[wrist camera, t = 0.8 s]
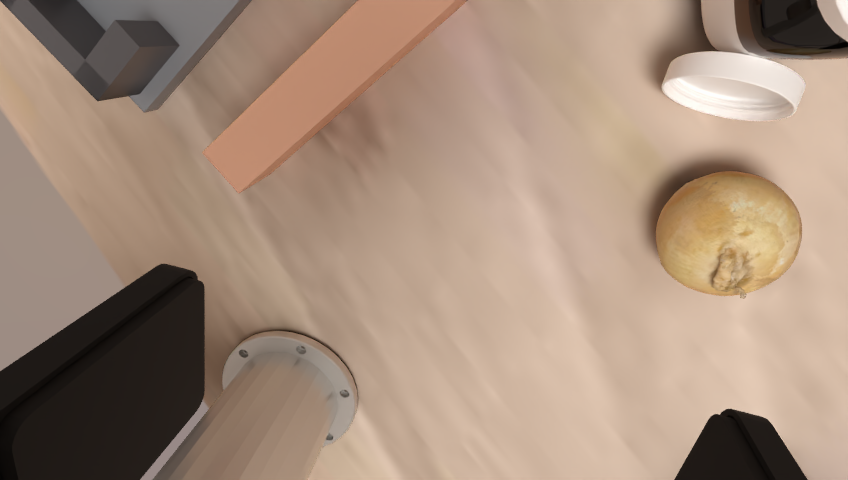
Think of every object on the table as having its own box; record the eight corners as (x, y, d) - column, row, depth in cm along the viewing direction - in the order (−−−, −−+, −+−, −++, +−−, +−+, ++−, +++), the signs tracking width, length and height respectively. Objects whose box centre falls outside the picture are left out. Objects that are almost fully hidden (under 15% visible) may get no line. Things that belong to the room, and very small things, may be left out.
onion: (644, 170, 34) (676, 203, 27) (776, 153, 32) (844, 184, 25) (647, 276, 36) (676, 329, 30) (768, 265, 35) (827, 319, 28)
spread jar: (897, -119, 26) (1165, -223, 15) (860, 102, 30) (1051, 141, 19) (652, -73, 28) (737, -135, 18) (648, 126, 32) (715, 172, 22)
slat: (446, -61, 30) (435, -76, 26) (480, -11, 31) (476, -18, 27) (238, 137, 38) (201, 152, 33) (270, 173, 38) (238, 193, 34)
